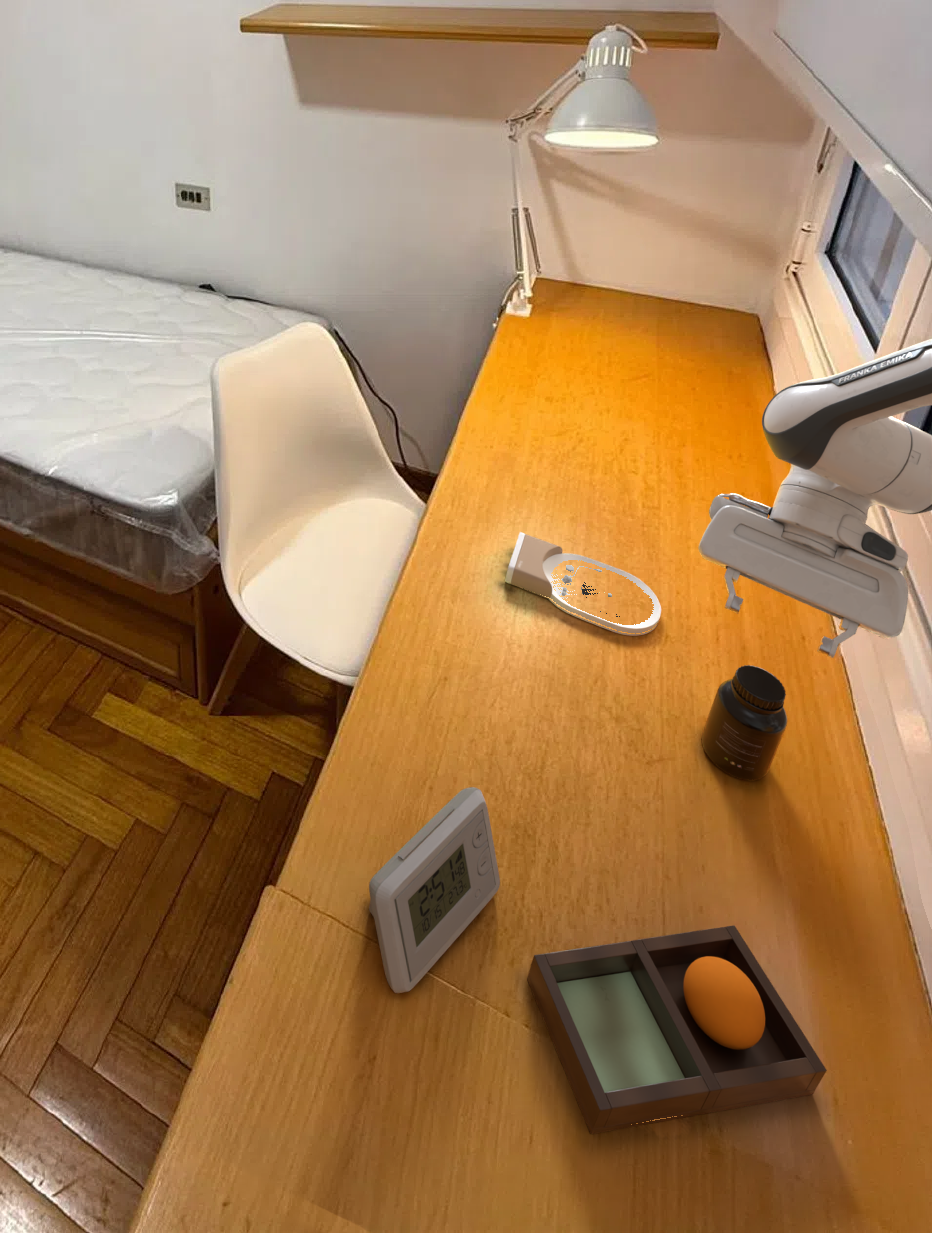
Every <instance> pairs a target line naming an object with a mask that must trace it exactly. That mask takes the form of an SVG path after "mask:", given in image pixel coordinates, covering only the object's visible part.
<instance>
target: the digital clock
mask: <svg viewBox="0 0 932 1233" xmlns="http://www.w3.org/2000/svg"><path fill="white" fill-rule="evenodd" d="M483 794H484V793H483V792H482V790H481V789H479V788H478V787H474V786H471V787H470V786H469V787H466V788H463V789H461V790H460V791H459V792H457V794H455V795H454V796H453V797H452V798H451V799H450V800H449V801H448V802H447V803H446V804H445V805H444V806H443V807H442V808H441V809H439V811H438V812H437V813H436V814H434V816H432V818H431V819H430V820H429V821H427V822H426V823H425V824H424V825H423V826H422V828H421V829H420V830H418V831H417V832H416V833H415V834H414V835H413V836H412V837H411V838H410V839H409V840H408V841H407V842H406V843H405V844H404V845H403V846H402V847H401V848H400V849H399V850H398V851H397V852H396V853H394V855H393V856H392V857H391V858H390V859H389V860H388V861H387V862H386V863H385V864H384V865H383V866H382V867H381V868H380V869H378V871H377V872H376V873H375V874H374V875H373V876H372V877H371V879H370V881H369V883H368V890H369V891H368V892H369V898H370V899H369V906H368V911H369V913H370V914H371V915H372V917H373V919H374V925H375V929H376V934H377V940H378V945H379V949H380V956H381V959H382V965H383V971H384V974H385V979H386V981H387V983H388V986H389V987H390V989H391V990H392V991H393V992H394V993H395V994H400V993H402V994H403V993H407V992H410V991H411V990H412V989H414V987H416V986H417V985H418V983H419V982H420V981H421V980H422V979H423V977H424V976H425V975H427V973H428V972H429V971H430V969H431V968H433V966H434V965H435V964H436V963H437V962H438V961H439V959H440V958H441V957H442V956H443V955H444V954H445V953H446V952H447V950H448V949H449V948H450V947H451V946H452V945H453V944H454V942H455V941H456V940H457V939H458V938H459V937H460V935H461V934H462V933H463V932H464V931H465V930H466V928H467V927H469V925H470V924H471V923H472V922H473V920H474V919H475V918H476V917H478V915H479V914H480V913H481V911H482V910H483V909H484V908H485V907H486V906H487V905H488V904H489V902H490V901H491V900H492V899H493V898H494V896H495V895H496V894H497V893H498V891H499V888H500V886H501V878H500V872H499V867H498V860H497V855H496V848H495V843H494V838H493V837H494V836H493V832H492V825H491V820H490V814H489V809H488V805H487V802H486V799H485V797H484V795H483Z"/></svg>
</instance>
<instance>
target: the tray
mask: <svg viewBox="0 0 932 1233" xmlns="http://www.w3.org/2000/svg"><path fill="white" fill-rule="evenodd" d="M707 956H712V957H718V958H721V959H724V960H726V961H728V962H730V963H732V964H733V965H735V966H736V967H738V968H739V969H740V970H741V971H742V972H743V973H744V974H745V975H746V976H747V977H748V978H749V979H750V981H751V982H752V983H753V985H754V986H755V988H756V990H757V991H758V993H759V996H760V998H761V1001H762V1003H763V1007H764V1012H765V1028H764V1032H763V1034H762V1037H761V1038H760V1040H759V1041H758V1042H757V1043H756V1044H755V1045H754V1046H752V1047H750V1048H747V1049H742V1050H736V1049H731V1048H727V1047H724V1046H722V1045H720V1044H718V1043H717V1042H715V1041H714V1040H712V1039H711V1038H710V1037H709V1036H708V1035H706V1034H705V1033H704V1032H703V1031H702V1030H701V1028H700V1027H699V1026H698V1025H697V1023H696V1022H695V1020H694V1019H693V1017H692V1015H691V1013H690V1011H689V1009H688V1006H687V1004H686V1000H685V996H684V988H683V983H684V977H685V973H686V971H687V969H688V967H689V966H690V965H691V963H693V962H694V961H695V960H697V959H699V958H701V957H707ZM526 980H527V983H528V985H529V987H530V990H531V992H532V995H533V997H534V1000H535V1002H536V1005H537V1007H538V1010H539V1012H540V1014H541V1017H542V1019H543V1022H544V1024H545V1026H546V1029H547V1030H548V1031H547V1032H548V1034H549V1036H550V1038H551V1042H552V1044H553V1047H554V1049H555V1051H556V1054H557V1056H558V1058H559V1061H560V1064H561V1066H562V1068H563V1071H564V1073H565V1075H566V1078H567V1080H568V1083H569V1085H570V1088H571V1090H572V1092H573V1095H574V1096H575V1100H576V1103H577V1104H578V1107H579V1109H580V1112H581V1114H582V1117H583V1119H584V1122H585V1124H586V1127H587V1130H588V1131H589V1134H590V1135H594V1134H600V1133H605V1132H610V1131H616V1130H621V1129H626V1128H627V1129H628V1128H632V1127H638V1126H644V1125H649V1124H655V1123H660V1122H667V1121H672V1120H677V1119H683V1118H688V1117H695V1116H700V1115H706V1114H711V1113H716V1112H721V1111H727V1110H732V1109H738V1108H745V1107H749V1106H755V1105H762V1104H767V1103H773V1102H777V1101H782V1100H788V1099H794V1098H799V1097H807V1096H811V1095H814V1093H815V1091H816V1089H817V1088H818V1086H819V1084H820V1083H821V1081H822V1080H823V1078H824V1076H825V1075H826V1073H827V1071H828V1069H827V1068H826V1066H825V1065H824V1064H823V1062H822V1061H821V1059H820V1057H819V1056H818V1054H817V1052H816V1051H815V1050H814V1048H813V1046H812V1045H811V1043H810V1042H809V1040H808V1038H807V1037H806V1035H805V1034H804V1032H803V1030H802V1029H801V1028H800V1026H799V1024H798V1022H797V1021H796V1019H795V1018H794V1017H793V1015H792V1013H791V1011H790V1010H789V1008H788V1007H787V1005H786V1004H785V1002H784V1001H783V999H782V997H781V995H779V993H778V991H777V990H776V988H775V987H774V985H773V984H772V982H771V980H770V979H769V977H768V975H767V974H766V972H765V971H764V969H763V968H762V966H761V964H760V963H759V961H758V960H757V958H756V957H755V955H754V953H753V952H752V950H751V949H750V947H749V946H748V944H747V943H746V941H745V939H744V937H743V936H742V934H741V933H740V931H739V929H738V928H737V926H736V925H728V926H720V927H713V928H705V929H700V930H699V929H698V930H694V931H686V932H685V931H684V932H680V933H674V934H673V933H672V934H666V935H660V936H653V937H652V936H651V937H645V938H638V939H633V940H625V941H619V942H613V943H607V944H599V945H593V946H586V947H580V948H579V947H578V948H572V949H566V950H560V951H552V952H546V953H538V954H534V955H533V958H532V961H531V963H530V967H529V971H528V974H527V977H526ZM681 1115H683V1116H681ZM672 1116H673V1117H672ZM674 1116H677V1117H674ZM667 1117H671V1118H667ZM660 1118H666V1119H660ZM654 1119H660V1120H655V1121H652V1120H654ZM650 1120H651V1121H650ZM646 1121H649V1122H646ZM642 1122H644V1123H642ZM636 1123H638V1124H636ZM631 1124H632V1125H631Z"/></svg>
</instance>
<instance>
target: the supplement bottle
mask: <svg viewBox="0 0 932 1233" xmlns="http://www.w3.org/2000/svg"><path fill="white" fill-rule="evenodd" d="M786 696H787V694H786V689H785V687H784V685H783V683H782V682H781V681H780V679H778V678H777V677H776V676H775V675H774V674H773V673H771V672H769V671H768V670H766V669H764V668H762V667H759V666H755V665H749V664H747V665H746V664H745V665H741V666H740V667H738V668H737V669H736V670H735V672H734V675H733V677H732V678H729V679H727V680H725V681H723V682H722V683H720V684H719V686H718V688H717V690H716V693H715V696H714V699H713V702H712V703H711V704H712V705H711V707H710V710H709V713H708V715H707V718H706V721H705V725H704V726H703V730H702V733H701V744H702V748H703V750H704V752H705V754H706V755H707V757H708V758H709V760H710V761H711V762H712V763H713V764H714V765H715V766H717V767H718V768H719V769H720V770H721V771H723V772H724V773H726V774H727V775H729V776H731V777H734V778H736V779H739V780H742V781H759V780H761V779H762V778H764V777H765V776H766V775H767V773H768V772H769V769H770V767H771V766H772V763H773V760H774V759H775V756H776V753H777V751H778V748H779V746H780V743H781V741H782V738H783V736H784V734H785V731H786V729H787V726H788V715H787V714H788V713H787V711H786V708H785V707H784V704H785V700H786Z"/></svg>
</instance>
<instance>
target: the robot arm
mask: <svg viewBox="0 0 932 1233" xmlns="http://www.w3.org/2000/svg"><path fill="white" fill-rule="evenodd" d="M928 406H932V338H929V339H927V340H924V341H921V342H918V343H915V344H913V345H910V346H907V347H905V348H902V349H900V350H897V351H894V352H892V353H889V354H886V355H884V356H881V357H877V358H876V359H873V360H869V361H868V362H865V363H863V364H860V365H858V366H854V367H853V368H849V369H847V370H844V371H842V372H839V373H835V374H832V375H829V376H825V377H818V378H813V379H808V380H803V381H801V382H800V381H799V382H797V383H794V384H791V385H789V386H787V387H784V388H783V389H781V390H780V391H778V392H777V393H776V394H775V395H774V396H773V397H772V398H771V399H770V401H768V403H767V405H766V406H765V408H764V410H763V412H762V417H761V426H762V430H763V434H764V437H765V440H766V442H767V445H768V446H769V448H770V450H771V452H772V453H773V456H774V457H776V458H777V459H778V460H780V461H783V462H785V463H787V464H790V469H789V472H788V473H787V475H786V477H785V478H784V479H783V480H782V481H781V483H780V486H779V488H778V491H777V494H776V496H775V499H774V502H773V504H772V506H769V505H767V504H763V503H761V502H758V501H755V500H751V499H748V498H747V497H744V496H743V495H741V494H738V493H734V492H730V493H721V494H718V495H716V496H715V497H714V498H713V499H712V501H711V504H710V507H709V509H708V515H709V519H710V522H708V524H707V526H706V529H705V530H704V532H703V534H702V537H701V539H700V541H699V543H698V547H697V548H698V549H697V550H698V552H699V555H700V557H701V558H702V559H704V560H705V561H707V562H709V563H712V564H714V565H715V566H716V565H717V566H719V567H720V568H722V569H725V570H726V571H725V573H724V576H723V578H724V584H725V587H726V590H727V591H726V592H727V594H728V597H727V599H726V603H725V606H724V609H726V610H728V611H730V612H732V613H734V614H738V615H739V613H740V610H741V607H742V606H743V602H744V598H742V597H740V596H738V595H737V594H736V588H735V585H734V583H738V581H739V579H740V576H741V577H744V578H746V579H748V580H750V581H753V582H755V583H757V584H759V585H761V586H764V587H766V588H768V589H771V590H773V591H775V592H778V593H779V594H781V595H784V596H786V597H788V598H791V599H794V600H796V601H798V602H800V603H802V604H805V605H807V606H809V607H811V608H813V609H816V610H818V611H821V612H823V613H825V614H827V615H829V616H832V617H834V618H836V619H838V620H840V621H839V624H838V630H840V631H842V633H839V635H836V636H834V637H833V638H831V637H827V636H825V635H823V636H822V637H821V638H820V641H819V644H820V645H818V647H817V652H818V653H820V654H822V655H824V656H826V657H828V658H830V659H834V658H835V656H836V654H837V651H838V647H839V645H840V644H842V643H843V642H845V641H846V640H848V639H849V638H851V637H853V636H854V635H856V634H857V631H858V628H859V629H861V630H864V631H866V632H868V633H870V634H872V635H875V636H877V637H879V638H881V639H885V640H888V639H893V638H896V637H899V636H900V635H901V633H902V631H903V628H904V624H905V621H906V616H907V611H908V604H909V603H908V602H909V584H908V581H907V579H906V577H905V575H904V574H903V573H901V572H903V570H904V569H905V568H906V566H907V564H908V560H909V554H908V553H907V551H906V550H904V548H902V547H901V546H899V545H898V544H896V543H895V542H893V541H892V540H890V539H888V538H887V537H885V535H882V533H879V532H878V531H876V529H873V527H871V526H869V525H868V524H866V523H867V521H868V512H869V509H870V508H871V507H872V506H880V507H884V508H886V509H888V510H891V511H894V512H897V513H902V514H906V515H919V514H923V513H927V512H931V511H932V434H930V433H928V432H927V431H923V429H922V430H921V429H920V428H918V427H917V426H914V425H912V424H909V423H907V422H905V421H903V420H901V419H897V418H895V417H894V416H897V415H899V414H903V413H906V412H909V411H913V410H916V409H919V408H922V407H928Z"/></svg>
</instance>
